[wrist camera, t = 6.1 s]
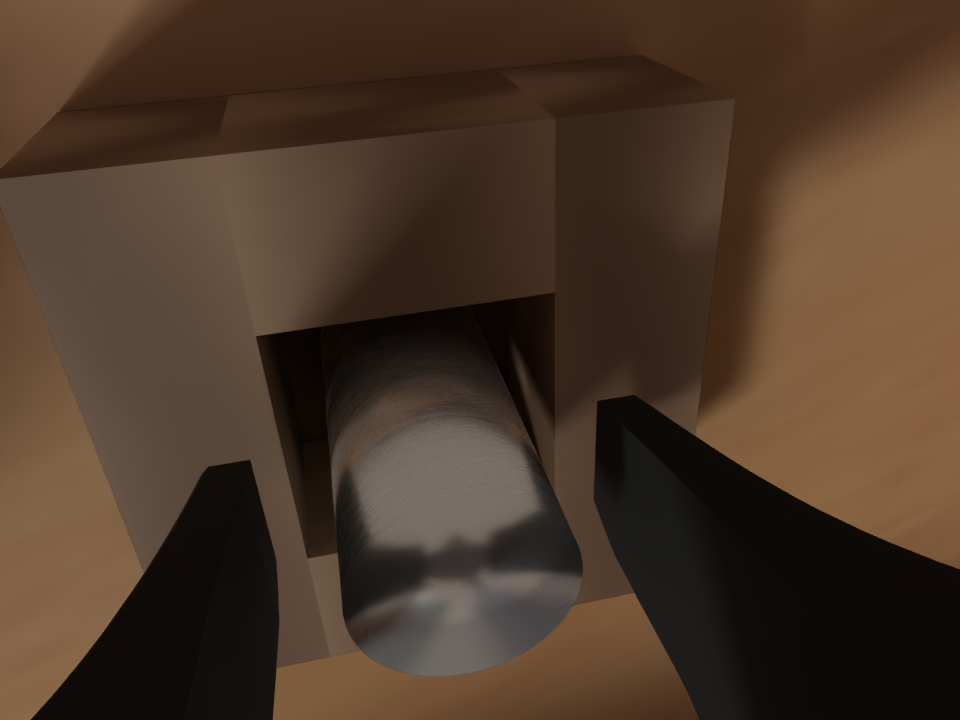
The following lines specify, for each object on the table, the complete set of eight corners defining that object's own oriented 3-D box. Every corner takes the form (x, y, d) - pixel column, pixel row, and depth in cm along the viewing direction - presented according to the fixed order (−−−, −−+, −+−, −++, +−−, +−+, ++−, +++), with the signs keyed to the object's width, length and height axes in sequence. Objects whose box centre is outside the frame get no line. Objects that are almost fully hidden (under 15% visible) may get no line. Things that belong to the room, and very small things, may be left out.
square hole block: (642, 54, 14) (735, 98, 11) (618, 478, 19) (677, 583, 16) (57, 112, 13) (-10, 180, 10) (203, 555, 18) (188, 686, 15)
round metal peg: (475, 259, 16) (593, 483, 10) (475, 393, 17) (573, 654, 11) (312, 271, 15) (331, 519, 9) (327, 409, 17) (352, 694, 11)
